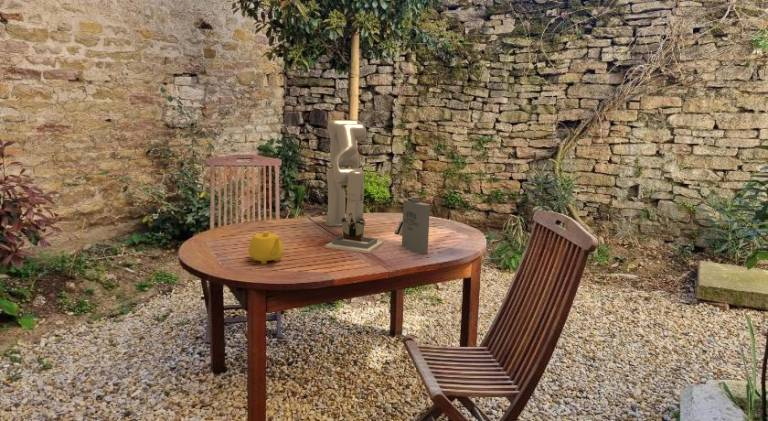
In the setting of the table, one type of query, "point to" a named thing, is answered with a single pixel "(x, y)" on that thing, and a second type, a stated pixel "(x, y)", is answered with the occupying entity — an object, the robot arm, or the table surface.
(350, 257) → the table surface
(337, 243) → the board
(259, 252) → the teapot
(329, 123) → the robot arm
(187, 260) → the table surface
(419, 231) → the grey upright block
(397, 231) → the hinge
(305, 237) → the table surface
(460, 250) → the table surface
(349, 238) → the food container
